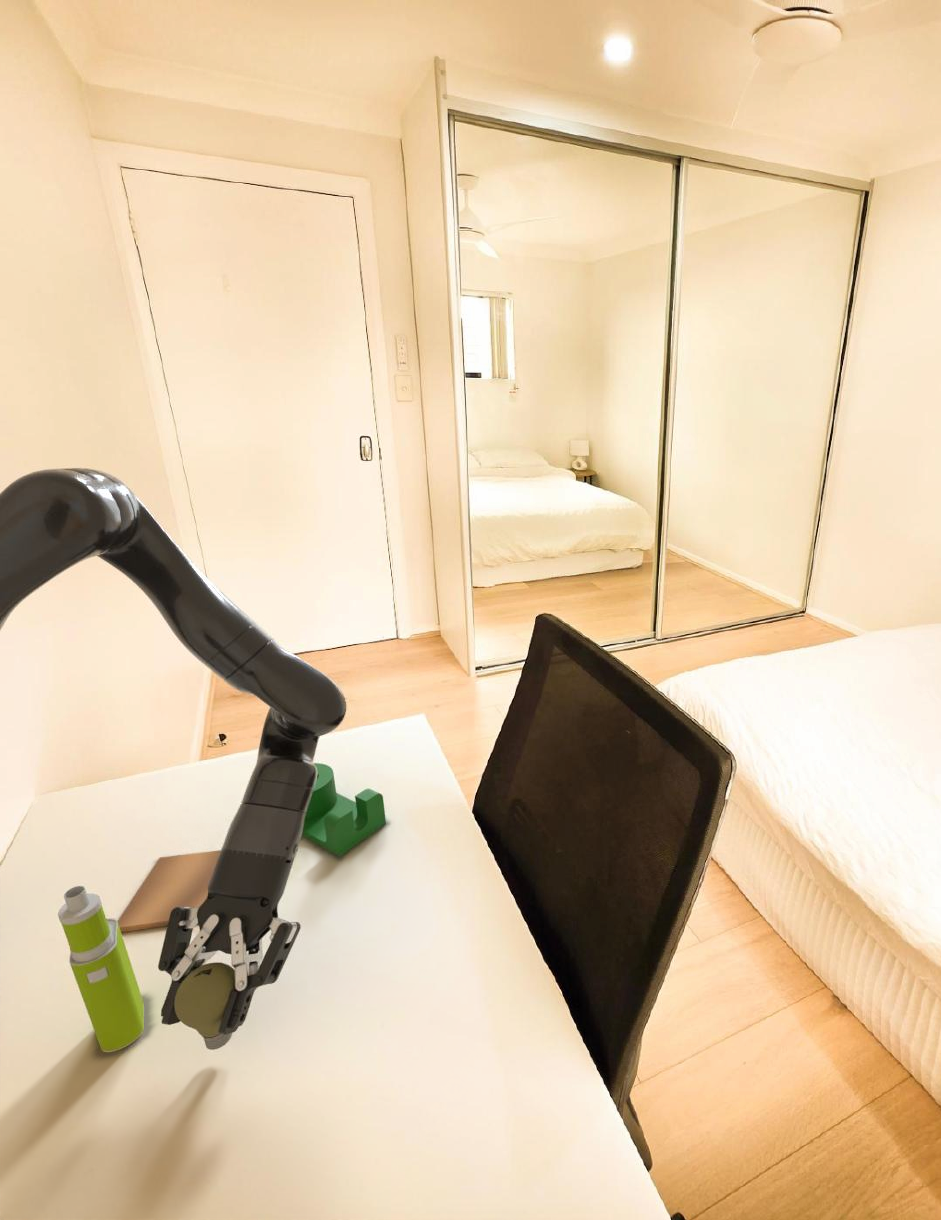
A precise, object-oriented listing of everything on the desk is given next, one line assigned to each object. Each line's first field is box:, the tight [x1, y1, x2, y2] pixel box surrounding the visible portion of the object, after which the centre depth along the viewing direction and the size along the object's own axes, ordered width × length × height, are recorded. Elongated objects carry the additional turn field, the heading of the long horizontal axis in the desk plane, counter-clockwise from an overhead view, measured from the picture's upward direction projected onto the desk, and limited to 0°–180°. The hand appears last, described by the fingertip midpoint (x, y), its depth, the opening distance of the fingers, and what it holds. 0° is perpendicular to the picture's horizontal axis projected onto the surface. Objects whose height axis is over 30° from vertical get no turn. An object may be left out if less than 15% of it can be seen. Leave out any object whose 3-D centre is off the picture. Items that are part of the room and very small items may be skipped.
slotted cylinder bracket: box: [301, 762, 387, 857], centre depth 99 cm, size 18×9×6 cm, turn 61°
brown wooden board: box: [117, 849, 221, 933], centre depth 85 cm, size 16×13×1 cm
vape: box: [57, 885, 145, 1053], centre depth 63 cm, size 4×6×20 cm, turn 36°
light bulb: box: [174, 961, 236, 1051], centre depth 62 cm, size 6×6×10 cm
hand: (199, 1027), depth 61 cm, fingers closed on light bulb, 5 cm apart
